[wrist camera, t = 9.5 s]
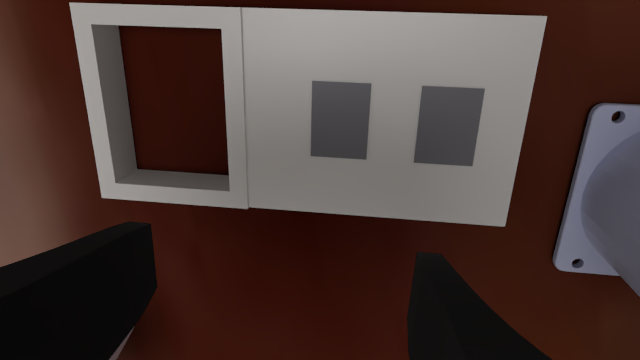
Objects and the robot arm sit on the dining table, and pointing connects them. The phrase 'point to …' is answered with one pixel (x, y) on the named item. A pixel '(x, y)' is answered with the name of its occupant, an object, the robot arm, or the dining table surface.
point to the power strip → (334, 109)
